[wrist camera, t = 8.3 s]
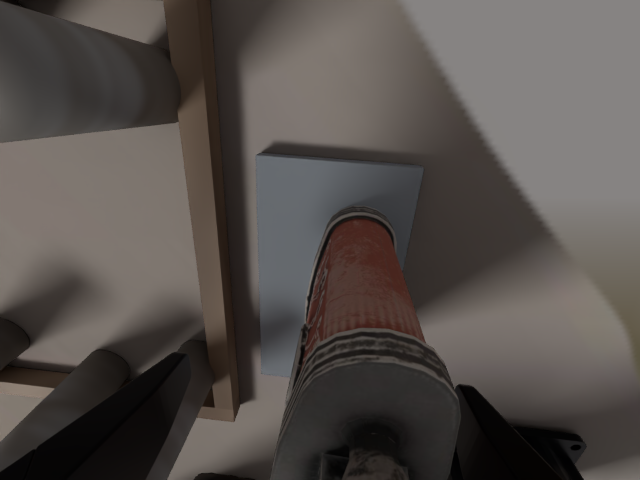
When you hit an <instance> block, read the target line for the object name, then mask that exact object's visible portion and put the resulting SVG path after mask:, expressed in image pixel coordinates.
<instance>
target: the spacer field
mask: <svg viewBox="0 0 640 480" xmlns="http://www.w3.org/2000/svg"><path fill="white" fill-rule="evenodd" d="M163 1H164V9H165V17H166V25H167V33H168V41H169V49H170V51H168V50H165V49H162V48H159V47H155V46H152V45H148V44H145V43H142V42H138V41H135V40H131V39H128V38H125V37H121V36H118V35H114V34H111V33H108V32H104V31H101V30H98V29H94V28H91V27H87V26H84V25H81V24H77V23H74V22H70V21H67V20H64V19H60V18H57V17H53V16H50V15H47V14H43V13H40V12H36V11H33V10H30V9H26V8H23V7H21V6H20V4H19V3H18V2H17V1H16V0H0V143H4V142H13V141H22V140H30V139H39V138H48V137H56V136H65V135H74V134H83V133H91V132H100V131H109V130H117V129H126V128H135V127H143V126H152V125H161V124H170V123H176V122H179V128H180V135H181V143H182V151H183V159H184V167H185V175H186V183H187V191H188V199H189V207H190V214H191V222H192V230H193V238H194V246H195V254H196V262H197V270H198V278H199V285H200V293H201V301H202V309H203V317H204V325H205V333H206V341H207V343H206V342H203V341H197V340H192V341H188V342H185V343H184V344H182V345H181V347H180V348H179V349H178V351H177V352H183V353H187V354H188V355H189V359H190V365H191V371H192V375H191V380H190V383H189V385H188V388H187V390H186V393H185V395H184V398H183V400H182V403H181V405H180V408H179V410H178V413H177V415H176V418H175V420H174V423H173V425H172V428H171V430H170V433H169V435H168V437H167V439H166V441H165V443H164V445H163V447H162V449H161V451H160V453H159V455H158V457H157V459H156V461H155V463H154V465H153V466H152V468H151V470H150V472H149V474H148V476H147V478H146V480H167V478H168V476H169V474H170V472H171V470H172V468H173V466H174V464H175V461H176V459H177V457H178V455H179V453H180V451H181V449H182V447H183V445H184V443H185V441H186V438H187V436H188V434H189V432H190V430H191V428H192V426H193V424H194V422H195V420H196V418H205V419H213V420H221V421H229V422H234V421H235V418H236V416H237V413H238V410H239V407H240V398H239V385H238V371H237V358H236V344H235V330H234V317H233V303H232V290H231V276H230V262H229V249H228V235H227V222H226V208H225V194H224V181H223V167H222V154H221V140H220V126H219V113H218V99H217V86H216V72H215V58H214V45H213V31H212V18H211V4H210V0H163ZM28 347H29V339H28V337H27V335H26V334H25V333H24V331H23V330H22V329H21V328H19V327H18V326H17V325H15V324H14V323H12V322H10V321H7V320H4V319H0V393H3V394H11V395H19V396H27V397H35V398H43V399H44V400H43V401H42V402H41V403H40V404H39V405H38V406H36V407H35V408H34V409H33V410H32V411H31V412H30V413H29V414H28V415H27V416H26V417H25V418H24V419H23V420H22V421H21V422H20V423H19V424H18V425H17V426H16V427H15V428H14V429H13V430H12V431H11V432H10V433H9V434H8V435H7V436H6V437H5V438H4V439H3V440H2V441H1V442H0V471H2V470H3V469H5V468H6V467H8V466H9V465H11V464H12V463H14V462H15V461H16V460H18V459H19V458H21V457H22V456H24V455H25V454H27V453H28V452H29V451H31V450H32V449H36V448H37V446H38V445H40V444H41V443H43V442H44V441H46V440H47V439H48V438H50V437H51V436H53V435H54V434H56V433H57V432H59V431H60V430H61V429H63V428H64V427H66V426H67V425H69V424H70V423H72V422H73V421H74V420H76V419H77V418H79V417H80V416H82V415H83V414H85V413H86V412H87V411H89V410H90V409H92V408H93V407H95V406H96V405H98V404H99V403H100V402H102V401H103V400H105V399H106V398H108V397H109V396H111V395H112V394H113V393H115V392H116V391H118V390H119V389H121V388H122V387H124V386H125V385H126V384H128V383H129V382H131V381H127V380H126V379H127V378H128V376H129V373H130V370H129V367H128V365H127V363H126V362H125V361H124V360H123V359H122V358H121V357H119V356H118V355H116V354H114V353H112V352H109V351H103V350H98V351H94V352H92V353H91V354H90V355H89V356H88V357H87V358H86V359H85V360H84V361H83V362H82V363H81V364H79V365H78V366H77V367H76V368H75V369H74V370H73V371H72V372H71V373H70V374H68V373H60V372H51V371H43V370H35V369H26V368H18V367H9V366H7V364H8V363H10V362H11V361H12V360H14V359H15V358H16V357H17V356H19V355H20V354H21V353H23V352H24V351H25V350H26V349H28ZM211 386H212V388H213V391H211V390H210V388H211Z"/></svg>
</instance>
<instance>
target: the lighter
mask: <svg viewBox="0 0 640 480" xmlns="http://www.w3.org/2000/svg"><path fill="white" fill-rule="evenodd" d="M396 247H397V241H396V236H395V232H394V229H393V227H392V224H391V223H390V221H389V220H388V218H387V217H386V216H385V215H384V214H382V213H381V212H380V211H378V210H377V209H374V208H371V207H367V206H350V207H347V208H343V209H341V210H339V211H338V212H336V213H335V214H334V215H332V217H331V218H330V220H329V221H328V223H327V225H326V228H325V231H324V234H323V236H322V239H321V242H320V244H319V247H318V250H317V253H316V255H315V259H314V264H313V268H312V273H311V277H310V282H309V286H308V291H307V296H306V304H305V324H304V325H303V326H302V327H301V331H300V336H299V340H298V344H297V349H296V353H295V358H294V362H293V367H292V372H291V377H290V382H289V387H288V392H287V397H286V402H285V412H284V416H283V420H282V425H281V429H280V433H279V438H278V442H277V446H276V451H275V455H274V460H273V465H272V470H271V475H270V480H447V478H448V476H449V474H450V469H451V464H452V459H453V454H454V449H455V444H456V439H457V434H458V430H459V425H460V420H461V413H460V406H459V400H458V397H457V395H456V392H455V389H454V387H453V384H452V381H451V379H450V376H449V374H448V371H447V368H446V366H445V363H444V362H443V361H442V359H441V358H440V357H439V355H438V354H437V353H436V351H435V350H434V349H433V348H432V347H431V346H429V345H427V344H426V342H425V339H424V336H423V333H422V330H421V327H420V324H419V321H418V318H417V315H416V312H415V309H414V306H413V303H412V300H411V297H410V294H409V291H408V288H407V285H406V282H405V279H404V276H403V273H402V270H401V267H400V264H399V261H398V258H397V255H396Z"/></svg>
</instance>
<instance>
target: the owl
mask: <svg viewBox="0 0 640 480" xmlns="http://www.w3.org/2000/svg"><path fill="white" fill-rule="evenodd" d="M194 480H254V479H251V478H239V477H236V476H232V475H220V474H214V473H201V474H198V476H196V477H195V479H194Z"/></svg>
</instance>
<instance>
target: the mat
mask: <svg viewBox="0 0 640 480" xmlns="http://www.w3.org/2000/svg"><path fill="white" fill-rule="evenodd" d="M423 172H424V168H423V167H422V166H421V165H409V164H396V163H384V162H371V161H358V160H346V159H333V158H321V157H308V156H295V155H283V154H270V153H259V154H257V155H256V188H257V225H258V262H259V300H260V337H261V374H265V375H274V376H282V377H291V372H292V367H293V362H294V358H295V353H296V349H297V344H298V340H299V336H300V331H301V327H302V326H303V325H304V324H305V304H306V296H307V291H308V286H309V282H310V277H311V273H312V268H313V264H314V259H315V255H316V253H317V250H318V247H319V244H320V242H321V239H322V236H323V234H324V231H325V228H326V225H327V223H328V221H329V220H330V218H331V217H332V215H334V214H335V213H336V212H338V211H339V210H341V209H343V208H347V207H350V206H367V207H371V208H374V209H377V210H378V211H380V212H381V213H382V214H384V215H385V216H386V217H387V218H388V220H389V221H390V223H391V224H392V227H393V229H394V232H395V236H396V241H397V247H396V255H397V258H398V261H399V264H400V267H401V270H402V273H403V268H404V263H405V258H406V254H407V249H408V244H409V239H410V234H411V230H412V225H413V220H414V215H415V211H416V206H417V201H418V196H419V191H420V187H421V182H422V177H423Z"/></svg>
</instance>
